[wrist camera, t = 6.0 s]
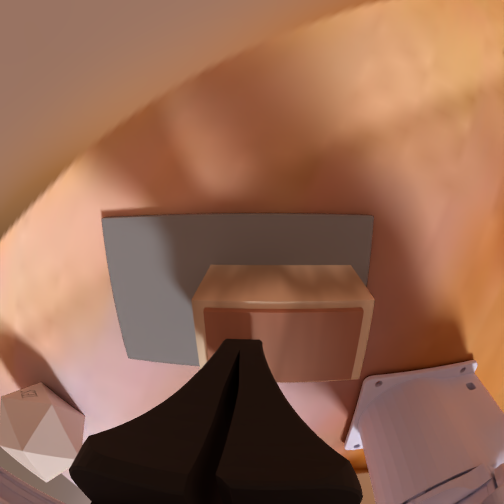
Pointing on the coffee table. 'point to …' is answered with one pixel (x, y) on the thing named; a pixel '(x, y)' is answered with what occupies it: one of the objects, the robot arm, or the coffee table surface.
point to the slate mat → (210, 253)
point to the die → (40, 430)
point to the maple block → (288, 317)
